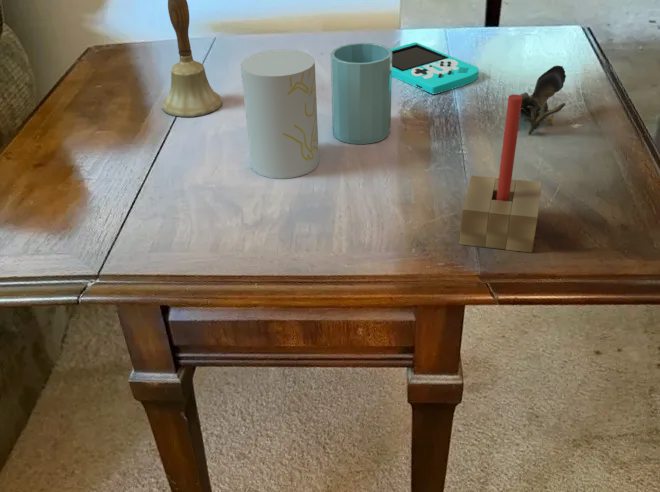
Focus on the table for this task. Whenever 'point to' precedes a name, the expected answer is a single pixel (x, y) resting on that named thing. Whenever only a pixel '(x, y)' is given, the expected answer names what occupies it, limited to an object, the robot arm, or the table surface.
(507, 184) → the straw
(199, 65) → the hand bell
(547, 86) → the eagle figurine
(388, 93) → the tumbler
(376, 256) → the table surface
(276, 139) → the cup
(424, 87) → the handheld game console
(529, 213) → the straw holder
